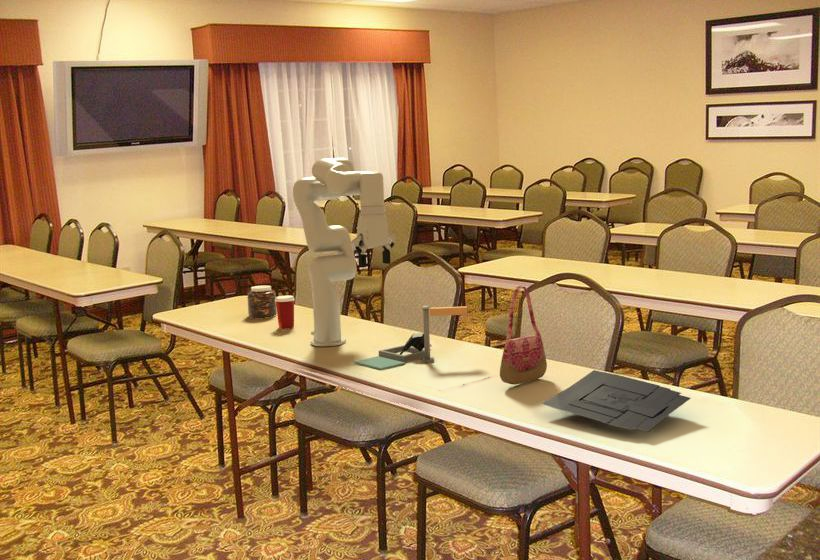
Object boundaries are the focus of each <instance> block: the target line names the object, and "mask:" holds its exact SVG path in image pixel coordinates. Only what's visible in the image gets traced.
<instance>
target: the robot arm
mask: <svg viewBox="0 0 820 560" xmlns="http://www.w3.org/2000/svg"><path fill="white" fill-rule="evenodd" d="M311 174H312V176H308V177H301V178H299V179H297V180H296V181H295V182H294V184H293V186H292V187H293V188H292V197H293V202H294V205H295V207H296V209H297V211H298V214H299V217H300V219H301V222H302V226H303V227H302V228H303V232H304V236H305V241H306V245H307V248H308V250H309V252H311V253H313V254H327V255H320V256H316V257H314V258H312V259H310V260H309V262H308V265H307V272H308V277H309V280H310V286H311V295H312V296H311V297H312V308H313V309H312V310H313V311H312V312H313V331H311V332H310V335H312V336H313V339H311V340H310V345H312V346H314V347H336V346H340V345H343V344H345V343H346V341H347V339H346V338H345V337H343V336H342V326H341V325H342V324H341V307H340V306H341V305H340V294H339V291H338V289H337V288H336V287H335V286H334V284H333V283H334V282H335V283H336V282H343V281H349V280H353V279H354V278H355V277H356V275H357V261H356V257H355V253H356V254H357V258H358V259H357V260H358V267H360V268H366V267H367V254H366V252H367V250H368V249H370V248H380V247H381V248H382V253H381V254H382V256H381V257H382V263H383V264H385V265H386V264H387V265H389V264H391V252H392V250H393V248H394V246H395V242H396V239H397V238H396V236H395V235H393V234H391V233H390V231H389V223H388V218H387V214H385V213H386V211H387V207H386V206H385V193H384V192H385V190H384V176H383V173H381V172H379V171H366V170H365V171H355V167H354V164H353V163H352V161H351V160H349V159H348V158H346V157H335V158H334V157H330V158H322V159H318V160H316V161H315V162H314V164H312V167H311ZM346 196H359V200H360V201H359V202H360V216H358V219H357V225H356V237H355V238H353V239H351V238H352V237H351V235H350V232H349V231H348V229H347V228H346V227H345V226H343V225H328V223H327V220H326V219H327V218H326V213H325V212H324V211H323V209H322V208H321V207H320V206H319V205H318V204H317V203H315V201H317V202H318V201H334V200H338V199H339V198H341V197H346ZM328 253H329V255H328ZM330 253H336V254H330Z"/></svg>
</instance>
